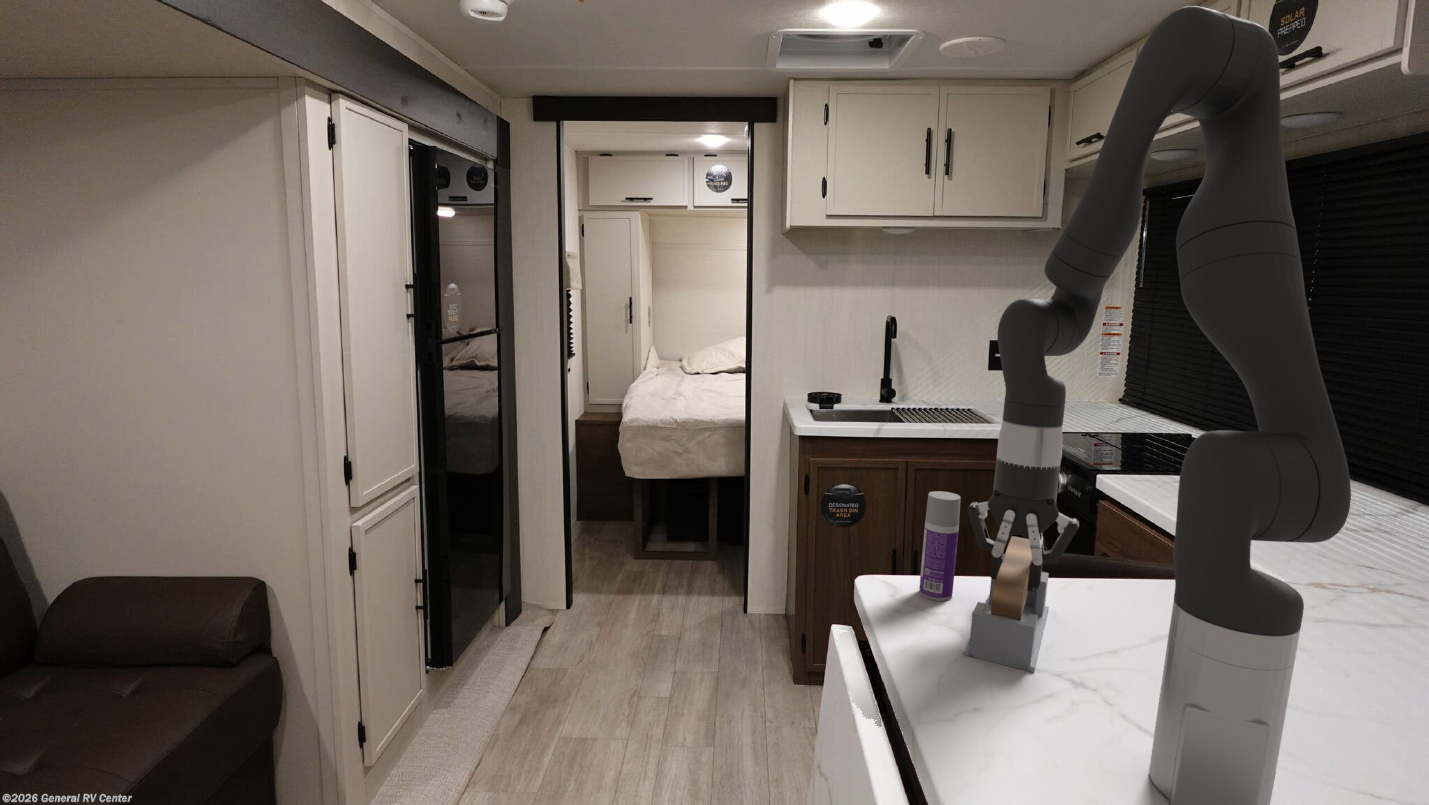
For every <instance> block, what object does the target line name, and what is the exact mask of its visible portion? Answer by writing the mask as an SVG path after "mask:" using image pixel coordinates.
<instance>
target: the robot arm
mask: <svg viewBox="0 0 1429 805" xmlns="http://www.w3.org/2000/svg"><path fill="white" fill-rule="evenodd" d="M1279 58H1280V57H1279V51H1278V47H1277V44H1276V42H1275V40H1274V37H1273V35H1272V34H1271V33H1270V32H1269V31H1268V30H1267V29H1266V28H1265V27H1264V26H1262V25H1260V23H1259V24H1258V23H1256V22H1254V21H1250V20H1247V19H1244V18H1242V17H1237V16H1234V15H1231V14H1228V13H1225V12H1221V11H1219V10H1214V9H1211V8H1207V7H1204V6H1203V7H1202V6H1198V5H1187V6H1183V7H1181V8H1177V9H1176V10H1174V11H1172V12H1171V13H1169V14H1168V15H1167V16H1165V17H1164V18H1163V19H1162V20H1161V21H1160V22H1159V23H1158V24H1157V25H1156V26H1155V28H1154V29H1153V30H1152V31H1151V33H1150V35H1149V36H1148V38H1147V39H1146V41H1145V42H1144V44H1143V46H1142V47H1141V50H1140V51H1139V53H1138V55H1137V57H1136V59H1135V61H1134V64H1133V66H1132V69H1131V71H1130V72H1129V73H1130V74H1129V75H1128V77H1127V78H1128V79H1127V81H1126V83H1125V86H1124V89H1123V91H1122V94H1121V96H1120V98H1119V101H1118V103H1117V105H1116V109H1115V110H1114V114H1113V116H1112V118H1111V121H1110V123H1109V126H1108V129H1107V132H1106V135H1105V137H1104V140H1103V142H1102V144H1101V145H1102V146H1101V148H1100V151H1099V154H1098V157H1097V159H1096V163H1095V165H1094V167H1093V169H1092V171H1091V172H1092V173H1091V174H1090V177H1089V180H1088V182H1087V185H1086V187H1085V189H1084V191H1083V194H1082V195H1081V198H1080V200H1079V202H1078V203H1077V206H1076V207H1075V210H1074V211H1073V213H1072V215H1071V216H1070V219H1069V220H1068V222H1067V224H1066V226H1065V227H1064V229H1063V231H1062V233H1061V234H1060V237H1059V238H1058V240H1057V242H1056V243H1055V245H1054V247H1053V249H1052V251H1051V252H1050V254H1049V256H1048V257H1047V259H1046V262H1045V265H1044V274H1045V276H1046V278H1047V280H1048V281H1049V282H1050V283H1052V284H1053V285H1054V286H1056V287H1055V289H1054V292H1053V294H1052V296H1051V297H1050V298H1049V299H1048V298H1020V299H1017V300H1014V301H1012V302H1011V303H1010V304H1009V305H1008V306H1007V307H1006V308H1005V309H1004V311H1003V313H1002V315H1001V317H1000V319H999V323H998V326H997V345H998V352H999V357H1000V358H999V359H1000V363H1001V368H1002V376H1003V380H1004V385H1005V395H1004V402H1003V412H1002V413H1003V414H1002V421H1001V427H1000V431H999V434H998V441H997V448H996V450H997V452H996V461H995V471H994V478H993V479H994V482H993V489H992V495H991V496H990V497H989V499H988V501H983V502H977V501H973V502H971V503H970V505H968V507H967V509H966V511H967V515H968V518H969V521H970V525H971V527H972V531H973V535H974V537H975V540H976V544H977V547H978V548H979V550H982V551H985V552H988V553H989V554H990V556H991V561H990V572H989V577H990V579H994V580H996V578H997V575H998V572H999V569H1000V567H1001V564H1002V563H1003V560H1004V557H1005V553H1004V551H1005V547H1006V545H1007V542H1008V539H1009V537H1010V535H1011V536H1016V535H1020V536H1022V537H1023V538H1024V537H1025V538H1026V539H1029V542H1030V548H1031V554H1032V560H1031V563H1030V568H1029V569H1030V572H1029V581H1028V591H1030V592H1033V590H1034V588H1037V589H1038V587H1039V585H1040V582H1041V574H1042V572H1043V566H1044V565H1045V564H1053V565H1054V564H1057V563H1058V562H1059V560H1060V559H1061V557H1062V556H1063V554H1064V552H1065V551H1066V549H1067V548H1068V547H1069V545H1070V543H1071V541H1072V540H1073V538H1074V537H1075V535H1076V534H1077V532H1078V530H1079V526H1080V521H1079V519H1077V518H1075V517H1069V516H1067V515H1064V514H1063V513H1061V512H1060V508H1059V506H1058V503H1057V497H1058V489H1059V478H1060V471H1061V462H1062V459H1063V442H1064V441H1063V424H1064V417H1065V416H1064V415H1065V407H1066V397H1067V389H1066V385H1065V383H1064V382H1063V381H1062V380H1061V379H1060V378H1057V377H1055V376H1053V375H1049V374H1048V370H1047V365H1046V358H1045V357H1061V356H1065V355H1068V354H1070V353H1072V352H1073V351H1075V350H1076V349H1077V348H1079V347H1080V346H1081V344H1083V342H1084V341H1086V339H1087V338H1088V336H1089V334H1090V332H1091V330H1092V327H1093V324H1094V321H1095V318H1096V315H1097V312H1098V308H1099V306H1100V304H1101V300H1102V296H1103V292H1104V288H1105V285H1106V283H1107V282H1108V281H1109V279H1110V277H1111V276H1112V274H1113V272H1114V271H1115V270H1116V268H1117V267H1118V265H1119V263H1120V262H1121V261H1122V258H1123V257H1124V255H1125V253H1126V252H1127V251H1128V249H1129V247H1130V246H1131V243H1132V241H1133V240H1134V237H1135V235H1136V233H1137V231H1138V227H1139V225H1140V222H1141V221H1140V220H1141V216H1142V206H1143V191H1144V190H1143V186H1144V175H1145V168H1146V162H1147V158H1148V154H1149V150H1150V148H1151V147H1152V146H1151V145H1152V143H1153V141H1154V139H1155V137H1156V135H1157V134H1158V131H1159V129H1160V128H1161V127H1162V125H1163V124H1164V122H1165V120H1166V119H1167V117H1168V116H1169V115H1170V114H1171V112H1173V113H1177V114H1181V115H1186V116H1190V117H1194V118H1195V120H1197V121H1198V123H1199V126H1200V127H1201V131H1202V136H1203V140H1204V148H1205V158H1206V160H1205V161H1206V164H1205V165H1206V166H1205V172H1204V175H1203V178H1202V180H1201V183H1200V185H1199V186H1198V187H1197V190H1196V191H1195V193H1194V195H1193V196H1192V197H1191V200H1190V202H1189V203H1188V205H1187V207H1186V209H1185V211H1184V213H1183V215H1182V217H1181V220H1180V222H1179V226H1178V229H1177V231H1176V242H1175V248H1176V257H1177V258H1176V259H1177V266H1178V275H1179V283H1180V290H1181V296H1182V300H1183V303H1184V305H1185V308H1186V309H1187V311H1188V313H1189V314H1190V316H1191V318H1192V319H1193V321H1194V322H1195V324H1196V325H1197V326H1198V327H1199V329H1200V330H1201V332H1202V333H1203V334H1204V335H1205V336H1206V338H1207V339H1208V340H1209V341H1210V342H1211V343H1212V345H1213V346H1214V347H1215V348H1216V349H1217V351H1218V352H1219V353H1220V354H1221V355H1222V357H1223V358H1225V360H1226V361H1227V362H1228V363H1229V365H1230V366H1231V367H1232V368H1233V370H1234V371H1235V372H1236V374H1237V375H1238V377H1239V378H1240V380H1241V382H1242V383H1243V385H1244V387H1245V389H1246V392H1247V393H1248V396H1249V399H1250V401H1251V404H1252V408H1253V412H1254V416H1255V420H1256V424H1257V429H1258V431H1249V430H1248V431H1247V430H1246V431H1245V430H1244V431H1243V430H1211V431H1206V432H1204V433H1201V434H1200V435H1199V436H1197V437H1196V438H1195V439H1194V440H1193V441H1192V442H1191V444H1190V446H1189V447H1188V448H1187V451H1186V452H1185V454H1184V458H1183V461H1182V464H1181V470H1180V475H1179V481H1178V491H1177V507H1176V520H1175V522H1176V523H1175V531H1174V541H1173V542H1174V544H1173V554H1172V556H1173V557H1172V558H1173V561H1172V562H1173V571H1174V572H1173V573H1174V581H1175V585H1174V594H1173V603H1172V608H1171V609H1172V610H1171V618H1170V625H1169V630H1168V637H1167V642H1166V643H1167V645H1166V650H1165V658H1164V662H1163V663H1164V665H1163V670H1162V671H1163V672H1162V676H1161V677H1162V679H1161V685H1160V692H1159V699H1158V706H1157V712H1156V720H1155V726H1154V727H1155V728H1154V733H1153V742H1152V748H1151V754H1150V763H1149V769H1148V772H1149V777H1150V779H1151V782H1152V783H1153V784H1154V786H1155V788H1156V789H1158V791H1159V792H1161V793H1162V794H1163V795H1164V796H1165V797H1166V798H1167V799H1168V801H1169V805H1271V803H1272V798H1273V797H1272V796H1273V791H1274V790H1273V789H1274V785H1275V780H1276V773H1277V767H1278V762H1279V755H1280V749H1281V743H1282V737H1283V731H1284V726H1285V720H1286V714H1287V709H1288V701H1289V696H1290V690H1291V685H1292V679H1293V678H1292V677H1293V673H1294V668H1295V662H1296V658H1297V652H1298V651H1297V650H1298V646H1299V641H1300V640H1299V639H1300V634H1301V627H1302V622H1303V618H1304V617H1303V614H1304V607H1305V603H1304V599H1303V597H1302V595H1301V593H1299V591H1298V590H1297V589H1295V588H1294V587H1292V586H1291V585H1290V584H1289V583H1287V582H1285V581H1283V580H1281V579H1280V578H1276V577H1274V576H1272V575H1270V574H1267V573H1265V572H1262V571H1259V570H1257V569H1255V568H1252V566H1251V545H1252V541H1256V542H1277V543H1301V544H1302V543H1303V544H1305V543H1308V544H1309V543H1310V544H1313V543H1321V542H1326V541H1328V540H1330V539H1332V538H1333V537H1335V536H1336V535H1337V534H1339V532H1340V531H1341V530H1342V528H1343V527H1344V525H1345V524H1346V522H1347V519H1348V516H1349V514H1350V508H1351V500H1352V490H1351V476H1350V475H1351V474H1350V471H1349V466H1348V462H1347V457H1346V454H1345V453H1346V452H1345V450H1344V446H1343V442H1342V439H1341V436H1340V431H1339V429H1338V425H1337V422H1336V419H1335V415H1334V412H1333V409H1332V405H1331V403H1330V398H1329V395H1328V392H1327V389H1326V384H1325V382H1324V378H1323V375H1322V371H1321V367H1320V363H1319V358H1318V355H1317V350H1316V349H1317V348H1316V344H1315V338H1314V336H1313V330H1312V325H1311V320H1310V313H1309V309H1308V308H1309V307H1308V303H1307V299H1306V291H1305V282H1304V274H1303V272H1304V271H1303V263H1302V257H1301V251H1300V246H1299V240H1298V233H1297V227H1296V223H1295V219H1294V214H1293V211H1292V210H1293V209H1292V204H1291V200H1290V192H1289V186H1288V177H1287V169H1286V160H1285V156H1284V148H1283V141H1282V138H1283V137H1282V120H1281V119H1282V118H1281V116H1282V115H1281V75H1280V74H1281V73H1280V72H1281V71H1280V59H1279ZM988 510H989V511H990V513H991V515H992V516H993V517H994V519H995V521H996V523H997V525H998V526H999V531H998V532H997V536H996V539H995V541H994V540H992V539H991V537H990V535H989V532H988V531H989V530H988V528H987V525H986V522H985V519H986V518H987V517H988ZM1055 521H1056V523H1057V531H1058V534H1059V536H1058V537H1057V539H1056V540H1055V542H1054V544H1053V546H1052V547H1051V549H1049V550H1044V538H1043V532H1044V531H1046V530H1047V529H1048V528H1049V527H1050V526H1051V525H1052V524H1053V523H1055Z"/></svg>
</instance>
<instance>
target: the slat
mask: <svg viewBox="0 0 1429 805" xmlns="http://www.w3.org/2000/svg"><path fill="white" fill-rule="evenodd" d="M1004 554H1005V557H1004V560H1003V563H1002V564H1001V567H1000V569H999V572H998V575H997V578H996V580H995V583H994V586H993V597H992V608H991V615H996V616H1000V617H1005V618H1009V619H1014V620H1018V621H1021V617H1022V614H1023V610H1024V606H1025V603H1026V599H1027V595H1028V581H1029V572H1030V569H1029V568H1030V563H1031V560H1032V554H1031V548H1030V542H1029V538H1026V537H1025V538H1024V537H1019V536H1015V535H1011V537H1010V540H1009V542H1008V545H1007V548H1006V551H1005V553H1004Z"/></svg>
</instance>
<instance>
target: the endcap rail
mask: <svg viewBox="0 0 1429 805" xmlns="http://www.w3.org/2000/svg"><path fill="white" fill-rule="evenodd" d="M1049 574H1050V573H1049V572H1045V571H1042V574H1041V582H1040V585H1039V587H1038V589H1037V588H1034V590H1033V592H1030V591H1028V595H1027V599H1026V603H1025V606H1024V610H1023V614H1022V617H1021V621H1018V620H1014V619H1009V618H1005V617H1000V616H996V615H991V608H992V597H993V586H994V583H995V580H994V579H991V578H990V579H991V580H990V587H989V588H990V589H989V594H988V595H987V599H986V601H985V603H984V602H980V601H977V603H976V604H975V607H974V609H973V611H972V614H971V623H970V624H971V625H970V635H969V639H968V641H967V643H966V646H965V648H964V650H963V655H965V656H967V657H972V658H974V659H980V660H983V661H987V662H991V663H995V664H999V665H1002V666H1006V667H1010V668H1016V669H1019V670H1023V671H1026V672H1031V673H1035V670H1036V667H1037V662H1038V658H1039V653H1040V650H1041V645H1042V641H1041V640H1042V639H1043V637H1044V632H1043V631H1045V628H1046V627H1045V626H1046V623H1047V619H1048V614H1049V610H1050V608H1049V606H1047V605H1046V599H1047V593H1048V592H1047V590H1048V584H1049V583H1048V582H1049V576H1050V575H1049ZM1046 618H1047V619H1046ZM1045 622H1046V623H1045Z"/></svg>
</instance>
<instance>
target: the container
mask: <svg viewBox="0 0 1429 805" xmlns="http://www.w3.org/2000/svg"><path fill="white" fill-rule="evenodd" d="M927 494H928V495H927V503H926V513H925V521H924V531H923V543H922V555H921V565H920V566H921V567H920V578H919V590H918V592H919V595H920V596H921V597H923V598H925V599H927V600H931V601H935V602H947V601H949V600H951V599H953V594H954V592H953V591H954V583H955V582H954V581H955V572H956V570H955V569H956V561H957V552H958V550H957V549H958V538H959V528H960V527H959V526H960V511H961V500H962V499H961V496H960V495H959V494H957V493H953V492H949V491H942V490H941V491H939V490H937V491H936V490H935V491H929V493H927Z"/></svg>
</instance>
